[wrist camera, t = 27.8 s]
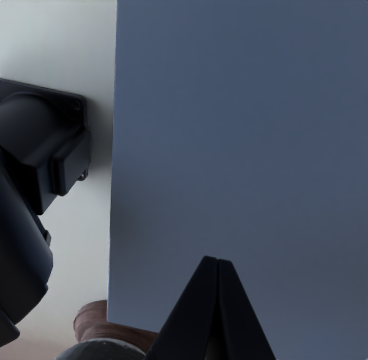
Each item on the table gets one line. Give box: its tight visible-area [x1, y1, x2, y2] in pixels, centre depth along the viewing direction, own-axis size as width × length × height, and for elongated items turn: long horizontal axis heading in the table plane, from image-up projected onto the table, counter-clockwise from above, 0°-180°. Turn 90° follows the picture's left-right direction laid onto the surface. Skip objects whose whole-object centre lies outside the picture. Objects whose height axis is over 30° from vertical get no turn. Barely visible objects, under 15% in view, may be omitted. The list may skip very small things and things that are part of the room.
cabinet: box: [107, 0, 368, 360], centre depth 16 cm, size 20×15×9 cm
